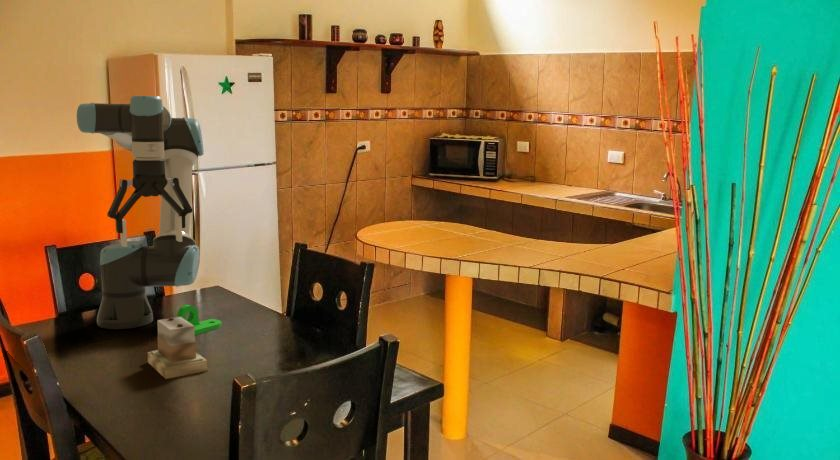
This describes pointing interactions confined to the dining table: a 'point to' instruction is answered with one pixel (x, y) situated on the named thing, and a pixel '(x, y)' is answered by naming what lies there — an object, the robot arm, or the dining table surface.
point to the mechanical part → (193, 319)
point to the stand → (176, 365)
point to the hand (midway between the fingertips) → (152, 243)
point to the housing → (176, 339)
